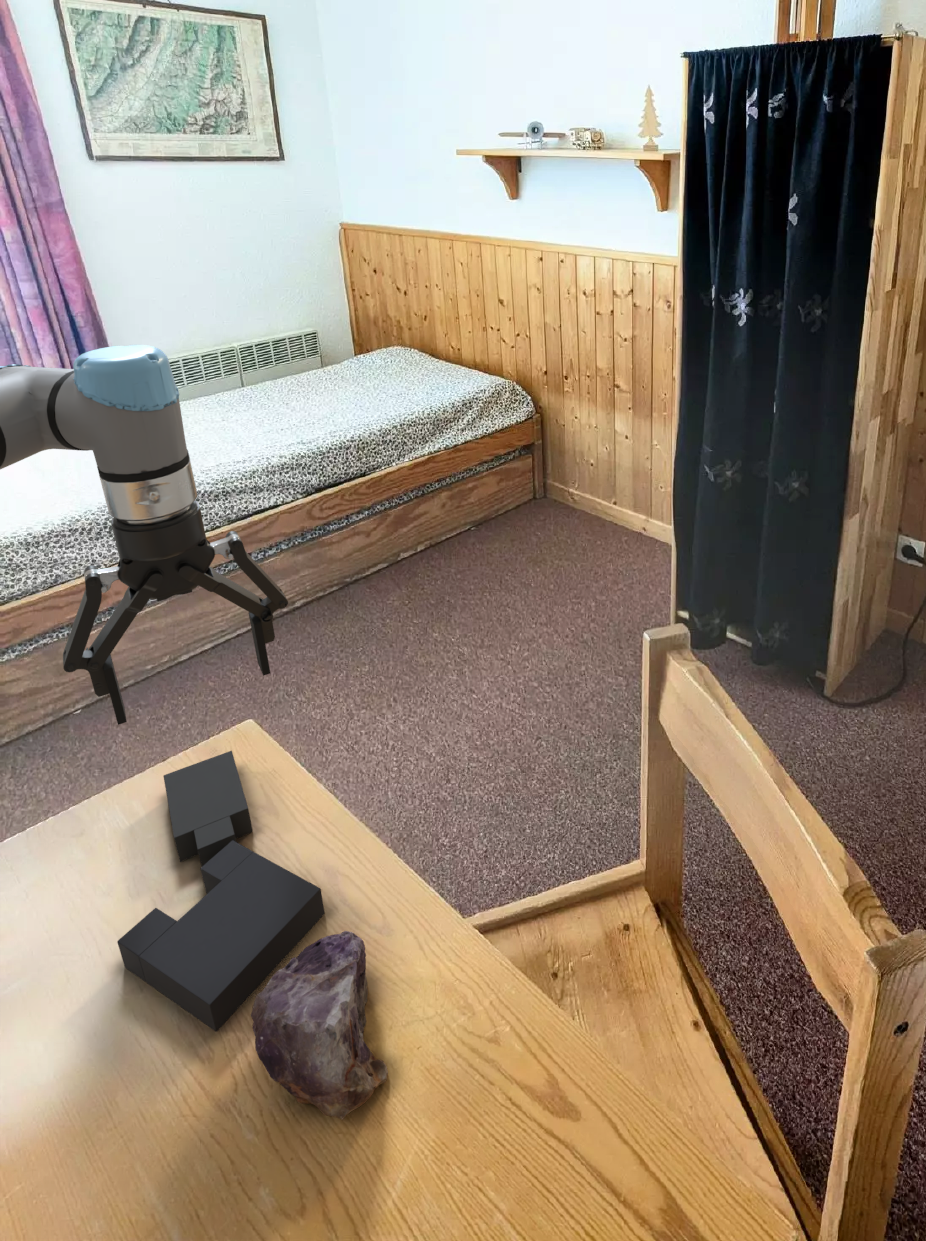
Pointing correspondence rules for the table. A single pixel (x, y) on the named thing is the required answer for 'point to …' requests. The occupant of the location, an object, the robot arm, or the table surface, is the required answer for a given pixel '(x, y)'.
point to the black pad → (207, 807)
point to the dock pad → (224, 935)
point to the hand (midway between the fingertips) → (195, 691)
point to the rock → (319, 1027)
